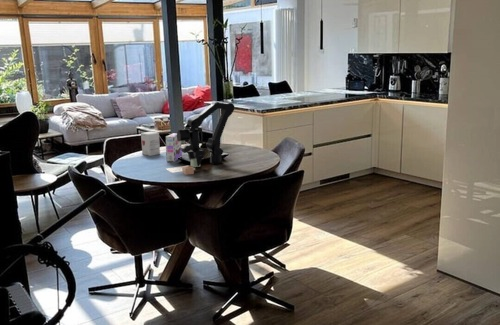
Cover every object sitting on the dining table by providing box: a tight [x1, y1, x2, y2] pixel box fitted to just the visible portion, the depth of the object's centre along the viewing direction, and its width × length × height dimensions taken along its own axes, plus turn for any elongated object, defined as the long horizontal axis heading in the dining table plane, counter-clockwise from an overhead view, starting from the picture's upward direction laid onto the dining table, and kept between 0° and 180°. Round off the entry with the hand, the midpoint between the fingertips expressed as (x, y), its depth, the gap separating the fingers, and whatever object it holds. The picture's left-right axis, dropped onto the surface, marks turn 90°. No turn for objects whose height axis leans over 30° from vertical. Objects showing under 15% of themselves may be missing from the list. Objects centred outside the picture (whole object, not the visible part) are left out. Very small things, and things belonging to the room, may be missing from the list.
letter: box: [165, 165, 186, 174], centre depth 280 cm, size 15×11×1 cm
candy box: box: [164, 132, 183, 163], centre depth 304 cm, size 14×6×16 cm, turn 169°
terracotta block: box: [181, 165, 195, 176], centre depth 269 cm, size 5×5×4 cm
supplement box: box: [140, 130, 161, 157], centre depth 322 cm, size 9×9×15 cm
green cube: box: [190, 157, 201, 168], centre depth 286 cm, size 4×4×4 cm
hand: (195, 164), depth 286 cm, fingers open, 9 cm apart
